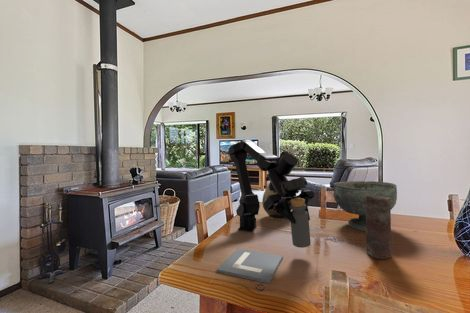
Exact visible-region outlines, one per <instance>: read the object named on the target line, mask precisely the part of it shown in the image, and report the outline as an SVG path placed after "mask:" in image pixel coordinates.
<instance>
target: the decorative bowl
mask: <svg viewBox="0 0 470 313" xmlns="http://www.w3.org/2000/svg"><path fill="white" fill-rule="evenodd" d="M366 195H370V196H379V197H385V198H387V197H390V205H391V210H392V209H393V208H394V207H395V206H396V204H397V200H398V190H397V184H395V183H393V182H392V183H391V182H387V181H386V182H385V181H365V180H361V181H360V180H358V181H355V180H354V181H339V182H338V181H337V182H334V183H333V198H334V201H335V203H336V204H337V205H338V206H339V207H340V208H341V210H343V211H344V212H345V213H348V214H352V215H358V217H356V218H355V217H354V218H350V219H349V220H348V222H347V225H348V226H349V227H350V228H354V229H355V230H359V231H363V232H366Z"/></svg>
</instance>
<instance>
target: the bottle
mask: <svg viewBox="0 0 470 313" xmlns="http://www.w3.org/2000/svg"><path fill="white" fill-rule="evenodd" d="M290 201H291V205H290V208H291V209H292V210H291V212H292V214H293V216H294V218H295V221H296V223H295V224H293V223H292V222H290V232H291V241H292V245H293V246H294V247H295V248H303V249H304V248H307V247H309V246H311V244H312V243H311V232H310V222H309V221H310V220H309V219H308V212H307V211H305V209H306V204H305V199H303V198H293V199H291V200H290Z"/></svg>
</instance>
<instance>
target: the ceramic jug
mask: <svg viewBox="0 0 470 313" xmlns="http://www.w3.org/2000/svg"><path fill="white" fill-rule="evenodd" d="M269 172H270V171H267V174H269ZM273 190H274V187H273V185H272V183H271V181H269V183H268V185H267V186H266V188H265V190H264V192H263V195H262V208H263V210H264V212H266V214H267V216H268V218H269V219H270V220H280V221H282V220H287V219H286V218H285V217H284V216H282V215H281V214H279V213H278V212H274V209H275V207H274V209H273V210H268V211H266V209H265V207H264V202H265V201H266V199H267V198H268V197H269V195H274V194H277V193H274V192H273ZM290 205H291V202H289V203H288V206H289V209H290V211H292V209H291V208H290Z"/></svg>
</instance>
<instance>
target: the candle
mask: <svg viewBox="0 0 470 313" xmlns="http://www.w3.org/2000/svg"><path fill="white" fill-rule="evenodd" d="M391 211H392V209H391V205H390V197H387V198H385V197H379V196H370V195H366V231H365V251H366V253H367V254H369V255H370V256H371V257H372V258H374V259H380V260H381V259H382V260H386V259H389V258H390V257H392V227H391V226H392V224H391V223H392V222H391V221H392V218H391V217H392V216H391V214H392V213H391Z"/></svg>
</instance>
